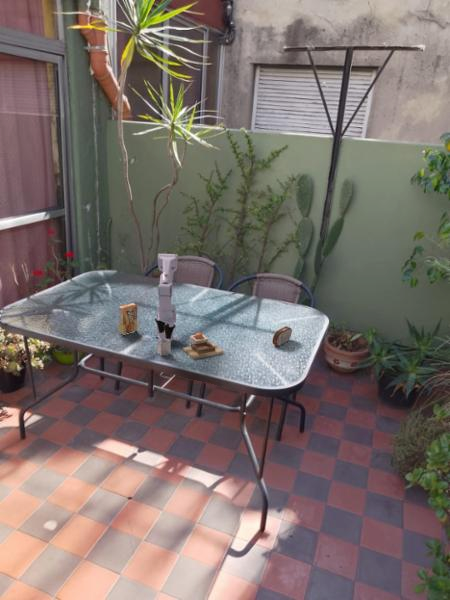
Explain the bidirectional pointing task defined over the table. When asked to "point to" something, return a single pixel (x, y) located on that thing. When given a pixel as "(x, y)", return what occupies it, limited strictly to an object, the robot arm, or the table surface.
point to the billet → (164, 346)
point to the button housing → (193, 340)
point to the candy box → (128, 318)
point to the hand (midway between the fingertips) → (164, 335)
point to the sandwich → (282, 336)
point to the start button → (198, 336)
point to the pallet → (202, 350)
